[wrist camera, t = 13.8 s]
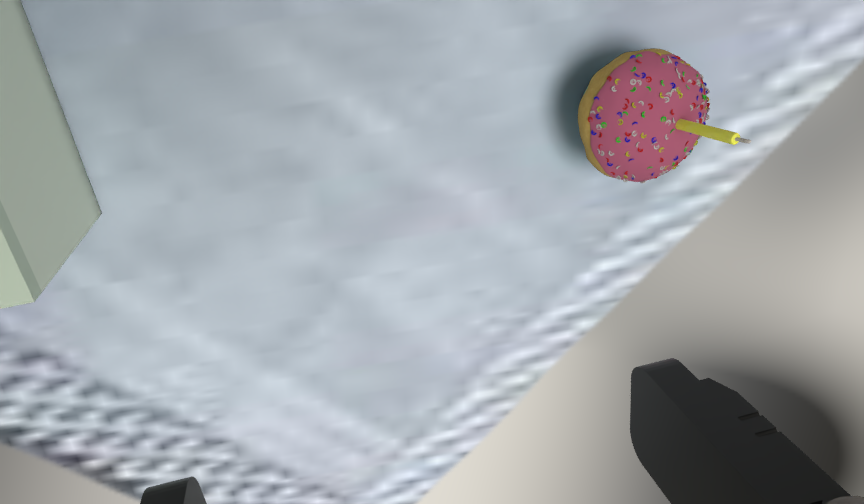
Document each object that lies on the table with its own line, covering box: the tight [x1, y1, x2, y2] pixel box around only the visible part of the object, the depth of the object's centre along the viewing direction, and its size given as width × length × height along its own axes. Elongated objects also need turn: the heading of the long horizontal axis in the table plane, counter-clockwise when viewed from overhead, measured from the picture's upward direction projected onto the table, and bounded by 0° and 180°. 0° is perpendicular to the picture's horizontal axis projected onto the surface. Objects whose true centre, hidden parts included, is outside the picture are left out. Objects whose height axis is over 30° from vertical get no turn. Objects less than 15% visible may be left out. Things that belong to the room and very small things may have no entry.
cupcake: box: [578, 49, 751, 183], centre depth 39 cm, size 9×8×12 cm
